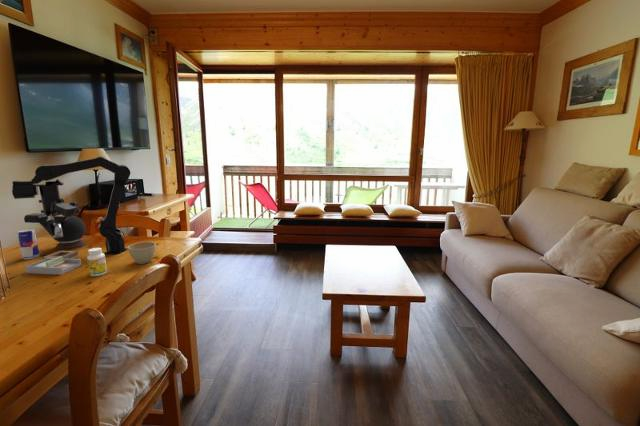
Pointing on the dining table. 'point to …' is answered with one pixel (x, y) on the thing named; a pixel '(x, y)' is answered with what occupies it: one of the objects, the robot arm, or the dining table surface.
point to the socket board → (63, 255)
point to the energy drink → (28, 244)
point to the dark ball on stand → (72, 234)
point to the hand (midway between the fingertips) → (57, 234)
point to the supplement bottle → (96, 262)
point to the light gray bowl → (142, 251)
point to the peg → (57, 230)
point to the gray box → (56, 270)
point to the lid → (52, 262)
